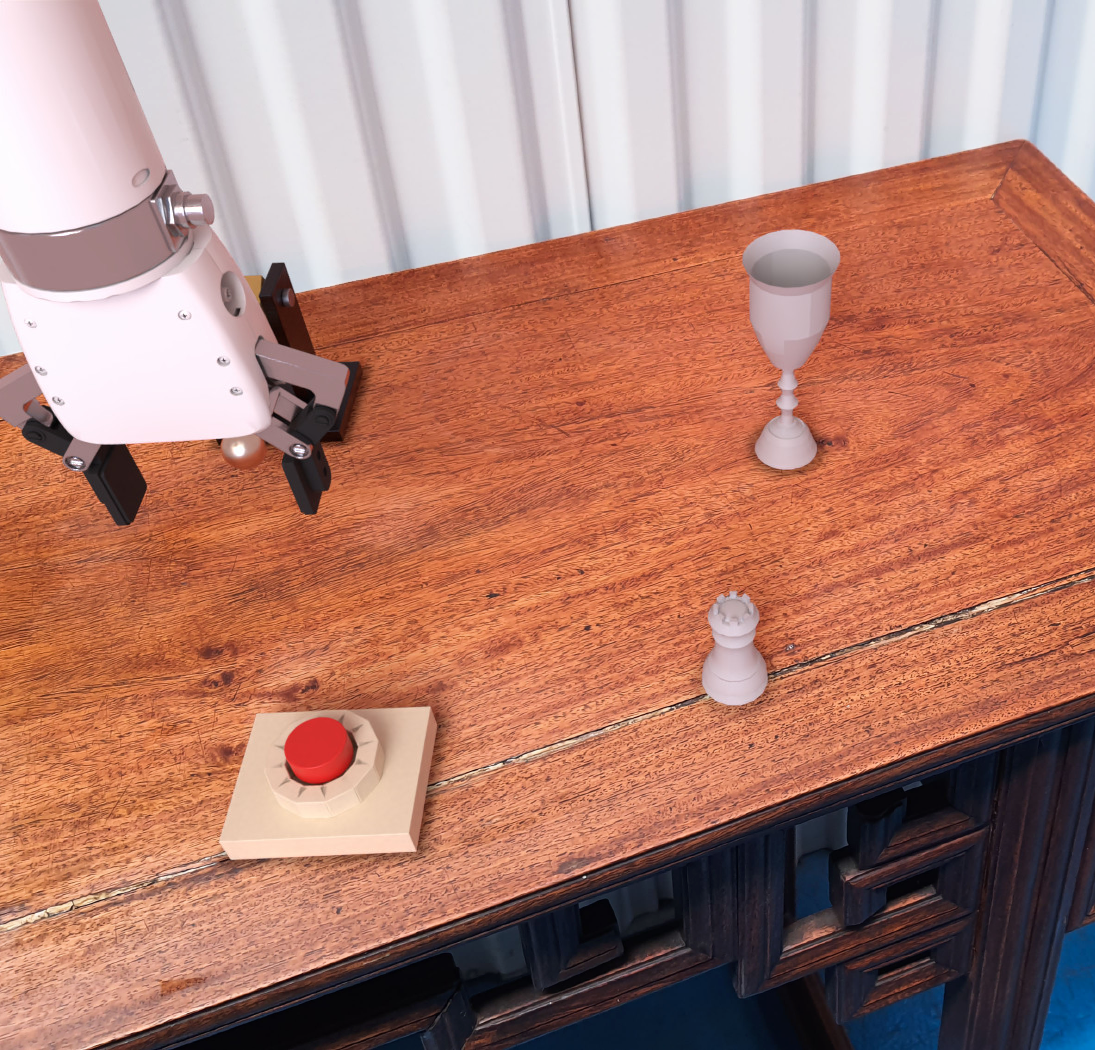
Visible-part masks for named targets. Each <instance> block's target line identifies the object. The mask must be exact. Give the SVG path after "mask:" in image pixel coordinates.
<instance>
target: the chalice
mask: <svg viewBox="0 0 1095 1050" xmlns="http://www.w3.org/2000/svg"><path fill="white" fill-rule="evenodd" d="M741 262H742V263H741V264H742V266H743V268H744V269H745V271H746V274H747V275H748V278H749V322H750V324H751V326H752V329H753V331H754V334H755V336H756V339H757V341H758V343H759V346H760V347H761V348H762V350H763V352H764V353H765V355H766V356H767V358H768V360H769V361H770V363H771V364H772V366H773V367H775V368H776V369H778V370H781V371H782V372H781V376H780V379H779V380H777V386H778V388H779V389H780V391H781V394H780V396H778V397H777V398H776V400H775V404H776V406H777V407H778V408H779V409H780V413H781V414H780V415H777V416H775V417H773V418H772V419H771V420H769V421H768V422H767V423H766V424H765V426H764V427H763V430H762V431H761V433H760V435H759V437H757V440H756V442H755V443H754V444H755V445H754V453H755V454H756V456H757V459H758V460H760V461H761V462H762V463H763V464H764V465H766V466H769V467H770V468H773V469H778V470H784V471H785V470H796V469H800V468H803V467H804V466H807V465H808V464H810V463H811V462H812V461H813V460H814V459H815V458H816V455H817V453H818V445H817V442H816V441H815V439H814V437H813V434H812V432H811V431H810V428H809V426H808V425H807V423H806V422H805V421H804V420H802V419H801V418H799V417H797V416H795V415H794V414H793V412H794V410H795V408H797V406H798V405H799V399H798V397H796V396H795V394H794V391H795V389H796V388H797V387H798V385H799V381H798V380H797V378H796V376H795V370H798V369H800V368H802V367H803V366H804V365H805V364H806V363H807V361H808V359H810V357H811V355H812V353H814V350H815V349H816V347H817V346H818V344H819V342H820V341H821V338H822V336H823V334H824V332H825V329H826V327H827V325H828V323H829V321H830V318H831V306H832V290H833V289H832V287H833V286H832V285H833V276H834V274H835V273H836V271H837V269H838V267H839V265H840V263H841V252H840V250H839V248H838V247H837V245H836V244H835V243H834V242H833V241H831V239H829V238H828V237H826V236H825V235H822V234H819V233H817V232H814V231H810V230H805V229H804V230H802V229H781V230H776V231H771V232H768V233H766V234H764V235H762V236H759V237H757V238H755V239H754V240H753V241H751V242H750V244H748V245H747V246H746V248H745V249H744V251H743V253H742V260H741Z"/></svg>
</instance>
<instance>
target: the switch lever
mask: <svg viewBox="0 0 1095 1050" xmlns="http://www.w3.org/2000/svg"><path fill="white" fill-rule="evenodd" d="M244 277H245V279H246V281H247V282H248V284H249V286H250V288H251V290H252V291H253V293H254V295H255V297H256V299H257V301H258V303H259V305H260V307H261V309H262V311H263V313H264V315H265V312H264V310H263V307H262V304H261V301H260V299H259V293H260V291H261V288H262V286H263V283H264V281H265V279H266V278H265V277H264V276H263V275H260V274H258V275H257V274H255V275H244ZM265 317H266V315H265ZM266 319H267V318H266ZM267 321H268V320H267ZM220 453H221V457H222V458H223V460H224V462H225V463H227V464H228V466H230V467H232V468H234V469H237V470H240V471H241V470H243V471H247V470H252V469H255V468H257V467H259V466H260V465H261V464H262V463H263V462H264V461H265V459H266V457H267V454H268V444H266V441H265V440H263V439H261V438H260V437H258V436H256V435H254V434H253V435H248V436H242V437H233V438H223V439H222V442H221V445H220Z"/></svg>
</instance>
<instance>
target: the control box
mask: <svg viewBox="0 0 1095 1050" xmlns="http://www.w3.org/2000/svg"><path fill="white" fill-rule="evenodd" d="M318 717H328V718H332V719H335V720H337V721H339V722H340V723H341V724H342V725H343V726H344V728H345V729H346V732H347V734H348V736H349V738H350V741H351V743H352V745H353V749H354V754H353V758H352V761H351V763H350V765H349V767H348V768H347V769H346V770H345V771H344V772H343V773H342V774H341V775H340V776H338V777H337V778H335V779H333V780H331V781H329V782H325V783H321V784H311V783H306V782H304V781H302V780H300V779H299V778H297V777H296V775H295V774H294V772H293V770H292V768H291V766H290V765H289V763H288V761H287V759H286V757H285V754H284V746H285V742H286V739H287V737H288V736H289V734H290V733H291V732H292V731H293V730H294V729H295V728H296V727H297V726H298V725H300V724H301V723H303V722H305V721H307V720H310V719H313V718H318ZM437 731H438V723H437V721H436V718H435V715H434V712H433V709H432V706H407V707H406V706H405V707H382V708H380V707H379V708H360V709H359V708H358V709H357V708H356V709H346V708H345V709H321V710H308V711H307V710H306V711H284V712H283V711H282V712H281V711H280V712H279V711H278V712H258V713H256V714H255V717H254V720H253V725H252V727H251V731H250V734H249V737H248V741H247V745H246V748H245V752H244V755H243V759H242V761H241V764H240V768H239V772H238V774H237V775H238V776H237V778H236V782H235V785H234V789H233V792H232V796H231V799H230V803H229V806H228V809H227V812H226V815H225V820H224V823H223V825H222V830H221V832H220V837H219V840H218V843H219V844H220V846H221V847H222V849H223V851H224V852H225V854H226V855H227V857H228V858H229V859H230V860H231V861H233V860H234V861H235V860H236V861H237V860H257V859H258V860H259V859H279V858H281V859H283V858H302V857H303V858H304V857H324V856H325V857H326V856H327V857H328V856H350V855H369V854H370V855H371V854H372V855H373V854H392V853H416V852H417V851H418V845H419V838H420V833H421V827H422V822H423V815H424V809H425V803H426V797H427V790H428V784H429V779H430V772H431V766H432V761H433V755H434V748H435V742H436V736H437Z"/></svg>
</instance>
